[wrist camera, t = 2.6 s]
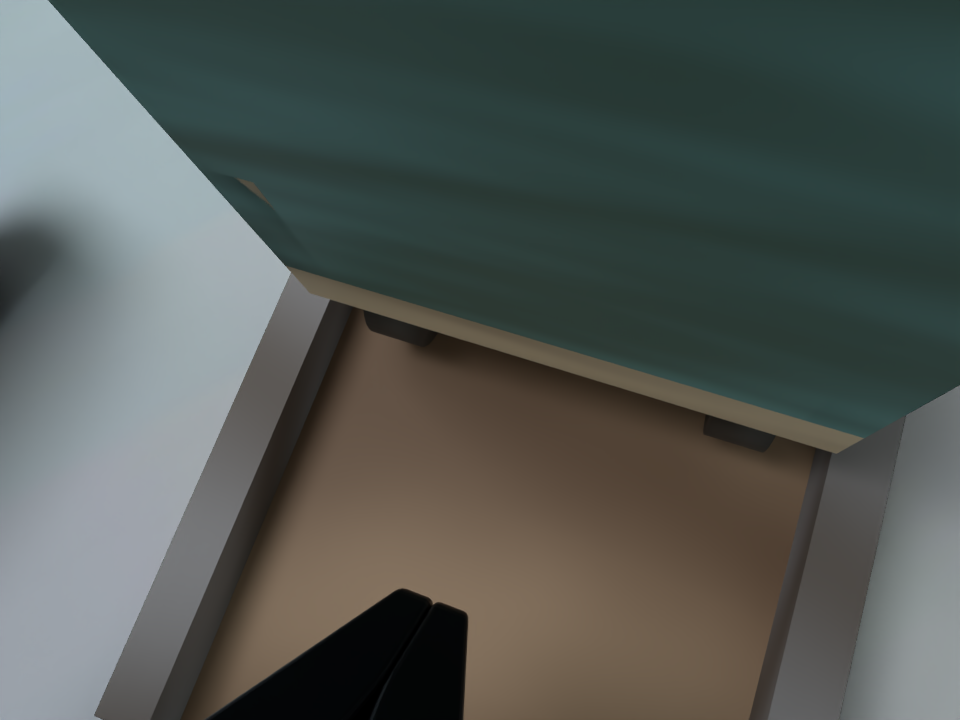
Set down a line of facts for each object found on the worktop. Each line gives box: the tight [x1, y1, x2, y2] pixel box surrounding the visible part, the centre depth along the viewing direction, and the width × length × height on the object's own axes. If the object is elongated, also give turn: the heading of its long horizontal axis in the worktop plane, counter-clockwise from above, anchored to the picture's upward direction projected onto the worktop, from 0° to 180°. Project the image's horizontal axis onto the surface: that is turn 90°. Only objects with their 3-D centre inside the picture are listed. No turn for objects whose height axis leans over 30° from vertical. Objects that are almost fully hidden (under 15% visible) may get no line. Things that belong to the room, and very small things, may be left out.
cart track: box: [94, 273, 906, 720], centre depth 15 cm, size 26×12×5 cm, turn 160°
